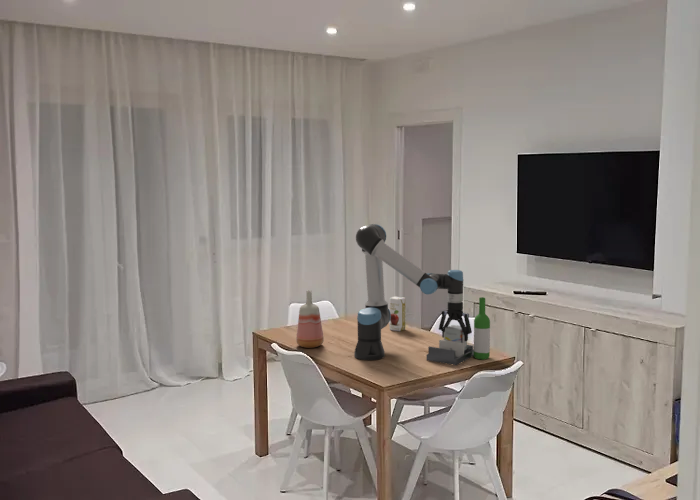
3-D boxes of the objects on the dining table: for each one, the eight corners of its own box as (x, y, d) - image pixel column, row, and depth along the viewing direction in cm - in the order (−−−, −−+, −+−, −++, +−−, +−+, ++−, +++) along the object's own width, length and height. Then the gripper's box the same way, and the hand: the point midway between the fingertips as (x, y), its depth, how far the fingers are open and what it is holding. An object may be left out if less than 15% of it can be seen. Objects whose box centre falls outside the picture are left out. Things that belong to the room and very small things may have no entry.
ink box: (460, 353, 325) (459, 329, 323) (444, 350, 330) (444, 327, 328) (467, 349, 332) (467, 326, 330) (452, 347, 337) (452, 324, 335)
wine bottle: (472, 355, 330) (473, 296, 326) (488, 355, 330) (489, 296, 326) (474, 360, 322) (475, 299, 318) (490, 360, 322) (491, 299, 318)
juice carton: (394, 327, 390) (394, 295, 388) (407, 329, 385) (407, 297, 383) (387, 330, 384) (387, 297, 382) (400, 332, 379) (400, 299, 377)
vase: (290, 346, 351) (289, 291, 347) (310, 341, 361) (309, 287, 358) (309, 351, 341) (308, 294, 337) (329, 345, 351) (328, 290, 348)
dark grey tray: (475, 355, 331) (475, 341, 330) (456, 365, 314) (456, 351, 313) (446, 350, 340) (446, 337, 339) (426, 360, 323) (426, 346, 322)
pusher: (464, 357, 324) (464, 343, 323) (458, 360, 319) (459, 345, 318) (440, 353, 331) (440, 339, 330) (434, 355, 327) (434, 341, 326)
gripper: (431, 300, 330) (431, 344, 333) (472, 305, 317) (472, 350, 320) (438, 297, 336) (438, 340, 339) (479, 302, 323) (478, 347, 326)
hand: (454, 345), depth 329 cm, fingers open, 10 cm apart
